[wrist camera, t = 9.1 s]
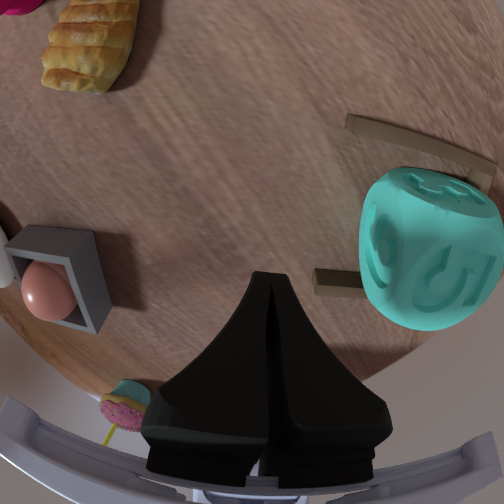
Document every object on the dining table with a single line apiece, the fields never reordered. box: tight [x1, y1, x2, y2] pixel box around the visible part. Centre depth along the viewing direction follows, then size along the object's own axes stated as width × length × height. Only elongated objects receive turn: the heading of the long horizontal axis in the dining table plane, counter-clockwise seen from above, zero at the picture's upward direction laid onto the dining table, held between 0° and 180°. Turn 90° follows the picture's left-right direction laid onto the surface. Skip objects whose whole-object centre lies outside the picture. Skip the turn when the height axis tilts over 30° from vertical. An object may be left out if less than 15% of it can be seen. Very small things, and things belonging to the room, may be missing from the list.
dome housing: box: [4, 225, 113, 335], centre depth 22 cm, size 9×9×4 cm
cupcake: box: [99, 380, 150, 447], centre depth 31 cm, size 9×8×12 cm
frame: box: [312, 113, 497, 299], centre depth 18 cm, size 13×12×2 cm
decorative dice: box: [359, 167, 504, 331], centre depth 16 cm, size 8×8×8 cm
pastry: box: [41, 0, 140, 95], centre depth 11 cm, size 9×7×4 cm
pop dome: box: [21, 260, 78, 321], centre depth 21 cm, size 6×6×6 cm
